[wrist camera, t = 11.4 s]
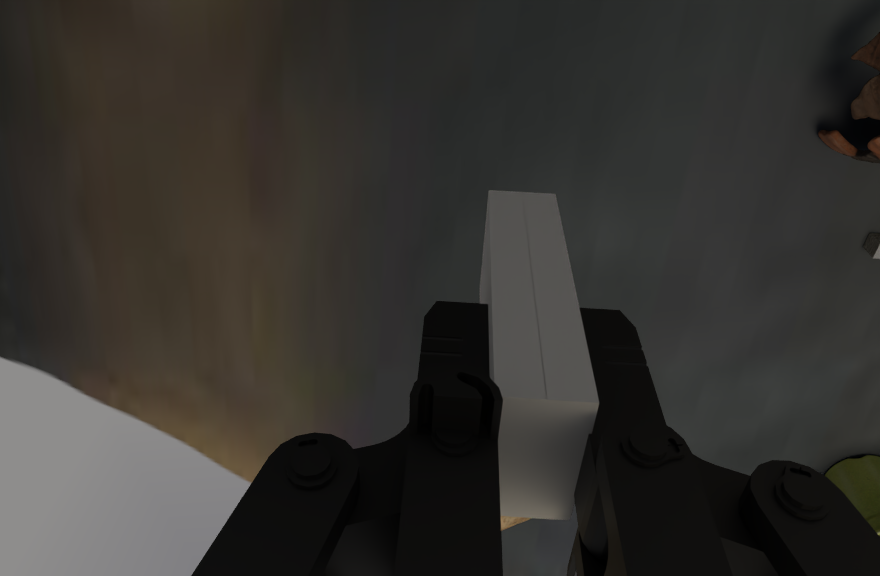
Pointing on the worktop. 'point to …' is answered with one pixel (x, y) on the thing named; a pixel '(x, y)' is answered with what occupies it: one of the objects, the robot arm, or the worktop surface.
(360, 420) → the worktop surface
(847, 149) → the pottery mug
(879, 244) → the grey u-shaped piece
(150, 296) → the worktop surface
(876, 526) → the plant pot
